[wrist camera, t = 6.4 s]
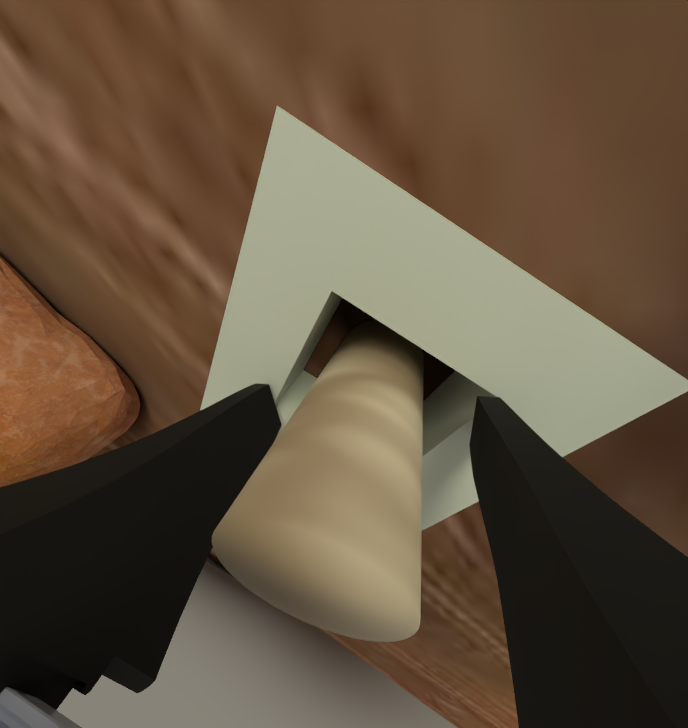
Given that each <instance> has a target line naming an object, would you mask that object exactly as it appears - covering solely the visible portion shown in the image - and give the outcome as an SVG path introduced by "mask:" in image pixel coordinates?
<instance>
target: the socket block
mask: <svg viewBox="0 0 688 728" xmlns="http://www.w3.org/2000/svg"><path fill="white" fill-rule="evenodd" d="M342 298H344V299H345V300H347V301H348V302H350V303H351V304H353V305H355V306H356V307H358V308H359V309H361V310H362V311H364V312H365V313H367V314H369V315H370V316H372V317H373V318H375V319H376V320H378V321H379V322H381V323H383V324H384V325H386V326H387V327H389V328H390V329H392V330H393V331H395V332H397V333H398V334H400V335H401V336H403V337H404V338H406V339H407V340H409V341H411V342H412V343H414V344H415V345H417V346H418V347H420V348H422V349H423V350H425V351H426V352H428V353H429V354H431V355H432V356H434V357H436V358H437V359H439V360H440V361H442V362H443V363H445V364H446V365H448V366H450V367H451V368H453V369H454V370H455V371H454V372H453V373H452V374H451V375H450V376H449V377H448V378H447V379H446V380H445V381H444V382H443V383H442V384H441V385H440V386H439V387H438V388H437V389H436V390H435V391H433V392H432V393H431V394H430V395H429V396H428V397H427V398H426V399H425V400H424V401H423V453H422V531H423V530H424V529H426V528H428V527H430V526H432V525H434V524H436V523H438V522H440V521H442V520H444V519H445V518H447V517H449V516H451V515H453V514H455V513H457V512H459V511H461V510H463V509H464V508H466V507H468V506H470V505H472V504H474V503H476V502H478V501H479V500H478V495H477V491H476V487H475V483H474V479H473V472H472V465H471V456H470V447H469V444H470V438H471V431H472V425H473V418H474V412H475V406H476V399H477V396H486V397H500V398H501V399H502V400H503V401H504V402H505V403H506V404H507V405H508V406H509V407H510V408H511V409H512V410H513V411H514V412H515V413H516V414H517V415H518V416H519V417H520V418H521V419H522V420H523V421H524V422H525V423H526V424H527V425H528V426H529V427H530V428H531V429H532V430H533V431H534V432H536V433H537V434H538V435H539V436H540V437H541V438H542V439H543V440H544V441H545V442H546V443H547V444H548V445H549V446H550V447H551V448H553V449H554V450H555V451H556V452H557V453H558V454H559V455H560V456H561V457H563V456H565V455H567V454H569V453H571V452H573V451H575V450H577V449H579V448H581V447H583V446H584V445H586V444H588V443H590V442H592V441H594V440H596V439H598V438H600V437H602V436H603V435H605V434H607V433H609V432H611V431H613V430H615V429H617V428H619V427H621V426H623V425H624V424H626V423H628V422H630V421H632V420H634V419H636V418H638V417H640V416H642V415H643V414H645V413H647V412H649V411H651V410H653V409H655V408H657V407H659V406H661V405H662V404H664V403H666V402H668V401H670V400H672V399H674V398H676V397H678V396H680V395H682V394H683V393H685V392H687V391H688V380H687V379H686V378H684V377H683V376H681V375H680V374H678V373H677V372H675V371H674V370H672V369H671V368H669V367H668V366H666V365H665V364H663V363H662V362H660V361H659V360H657V359H656V358H654V357H653V356H651V355H650V354H648V353H647V352H645V351H644V350H642V349H641V348H639V347H638V346H636V345H635V344H633V343H632V342H630V341H629V340H627V339H626V338H624V337H623V336H621V335H620V334H618V333H617V332H615V331H614V330H612V329H611V328H609V327H608V326H606V325H605V324H603V323H602V322H600V321H599V320H597V319H596V318H594V317H593V316H591V315H590V314H588V313H587V312H585V311H584V310H582V309H581V308H579V307H578V306H576V305H575V304H573V303H572V302H570V301H569V300H567V299H566V298H564V297H563V296H561V295H560V294H558V293H557V292H555V291H554V290H552V289H551V288H549V287H548V286H546V285H545V284H543V283H542V282H540V281H539V280H537V279H536V278H534V277H533V276H531V275H530V274H528V273H527V272H525V271H524V270H522V269H521V268H519V267H518V266H516V265H515V264H513V263H512V262H510V261H509V260H507V259H506V258H504V257H503V256H501V255H500V254H498V253H497V252H495V251H494V250H492V249H491V248H489V247H488V246H486V245H485V244H483V243H482V242H480V241H479V240H477V239H476V238H474V237H473V236H471V235H470V234H468V233H467V232H466V231H464V230H463V229H461V228H460V227H458V226H457V225H455V224H454V223H452V222H451V221H449V220H448V219H446V218H445V217H443V216H442V215H440V214H439V213H437V212H436V211H434V210H433V209H431V208H430V207H428V206H427V205H425V204H424V203H422V202H421V201H419V200H418V199H416V198H415V197H413V196H412V195H410V194H409V193H407V192H406V191H404V190H403V189H401V188H400V187H398V186H397V185H395V184H394V183H392V182H391V181H389V180H388V179H386V178H385V177H383V176H382V175H380V174H379V173H377V172H376V171H374V170H373V169H371V168H370V167H368V166H367V165H365V164H364V163H362V162H361V161H359V160H358V159H356V158H355V157H353V156H352V155H350V154H349V153H347V152H346V151H344V150H343V149H341V148H340V147H338V146H337V145H335V144H334V143H332V142H331V141H329V140H328V139H326V138H325V137H323V136H322V135H320V134H319V133H317V132H316V131H314V130H313V129H311V128H310V127H308V126H307V125H305V124H304V123H302V122H301V121H299V120H298V119H296V118H295V117H293V116H292V115H290V114H289V113H287V112H286V111H284V110H283V109H281V108H280V107H278V106H277V108H276V112H275V116H274V120H273V124H272V128H271V132H270V136H269V140H268V144H267V148H266V152H265V156H264V160H263V164H262V168H261V172H260V175H259V179H258V183H257V187H256V191H255V195H254V199H253V203H252V207H251V211H250V215H249V219H248V223H247V227H246V231H245V235H244V239H243V243H242V247H241V251H240V255H239V259H238V263H237V267H236V271H235V275H234V278H233V282H232V286H231V290H230V294H229V298H228V302H227V306H226V310H225V314H224V318H223V322H222V326H221V330H220V334H219V338H218V342H217V346H216V350H215V354H214V358H213V362H212V366H211V370H210V374H209V378H208V381H207V385H206V389H205V393H204V397H203V401H202V405H201V409H200V411H201V410H203V409H205V408H207V407H209V406H211V405H213V404H214V403H216V402H218V401H220V400H222V399H224V398H226V397H228V396H230V395H232V394H234V393H236V392H238V391H240V390H242V389H244V388H246V387H248V386H251V385H253V384H256V383H257V384H269V385H270V389H271V392H272V395H273V398H274V402H275V405H276V408H277V411H278V415H279V418H280V421H281V424H282V425H281V428H280V430H279V432H278V435H277V437H278V436H279V434H280V433H281V431H282V430H283V428H284V427H285V425H286V424H287V422H288V421H289V419H290V418H291V416H292V415H293V414H294V412H295V411H296V409H297V408H298V406H299V405H300V403H301V402H302V400H303V399H304V397H305V396H306V394H307V393H308V391H309V390H310V388H311V387H312V385H313V384H314V382H315V381H316V380H317V378H316V377H314V376H313V375H311V374H309V373H308V372H306V371H305V370H303V369H304V368H305V366H306V364H307V362H308V360H309V358H310V357H311V355H312V353H313V351H314V349H315V347H316V346H317V344H318V342H319V340H320V338H321V336H322V335H323V333H324V331H325V329H326V327H327V326H328V324H329V322H330V320H331V318H332V316H333V315H334V313H335V311H336V309H337V307H338V305H339V304H340V302H341V300H342ZM277 437H276V439H277ZM276 439H275V440H276ZM274 442H275V441H274Z"/></svg>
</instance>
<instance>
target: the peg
mask: <svg viewBox="0 0 688 728" xmlns="http://www.w3.org/2000/svg"><path fill="white" fill-rule="evenodd" d="M423 374H424V357H423V351H422V348H420V347H418V346H417V345H415V344H414V343H412V342H411V341H409V340H407V339H406V338H404V337H403V336H401V335H400V334H398V333H397V332H395V331H393V330H392V329H390V328H389V327H387V326H386V325H384V324H383V323H381V322H379V321H378V320H372V321H367V322H364V323H362V324H359V325H358V326H356V327H354V328H353V329H352V330H351V331H350V332H349V333H348V334H347V335H346V337H345V338H344V340H343V341H342V343H341V344H340V346H339V347H338V348H337V350H336V351H335V353H334V354H333V356H332V357H331V359H330V360H329V362H328V363H327V365H326V366H325V368H324V369H323V371H322V372H321V374H320V375H319V377H318V378H317V380H316V381H315V382H314V384H313V385H312V387H311V388H310V390H309V391H308V393H307V394H306V396H305V397H304V399H303V400H302V402H301V403H300V405H299V406H298V408H297V409H296V411H295V412H294V414H293V415H292V416H291V418H290V419H289V421H288V422H287V424H286V425H285V427H284V428H283V430H282V431H281V433H280V434H279V436H278V437H277V439H276V440H275V442H274V443H273V445H272V446H271V448H270V449H269V450H268V452H267V453H266V455H265V456H264V458H263V459H262V461H261V462H260V464H259V465H258V467H257V468H256V470H255V471H254V473H253V474H252V476H251V477H250V479H249V480H248V482H247V483H246V484H245V486H244V487H243V489H242V490H241V492H240V493H239V495H238V496H237V498H236V499H235V501H234V502H233V504H232V505H231V507H230V508H229V510H228V511H227V513H226V514H225V516H224V517H223V519H222V520H221V521H220V523H219V524H218V526H217V527H216V529H215V530H214V532H213V535H212V546H213V549H214V552H215V554H216V556H217V557H218V559H219V561H220V562H221V563H222V564H223V566H224V567H225V568H226V569H227V570H228V571H229V573H230V574H231V575H232V576H233V577H235V578H236V579H237V580H238V581H239V582H240V583H241V584H243V585H244V586H245V587H246V588H248V589H249V590H250V591H251V592H253V593H254V594H256V595H257V596H259V597H260V598H262V599H263V600H265V601H266V602H268V603H270V604H271V605H273V606H275V607H276V608H278V609H280V610H282V611H283V612H285V613H287V614H289V615H291V616H293V617H296V618H298V619H300V620H302V621H304V622H306V623H309V624H311V625H314V626H316V627H319V628H321V629H324V630H327V631H330V632H333V633H336V634H340V635H343V636H347V637H351V638H356V639H361V640H367V641H376V642H393V641H400V640H404V639H407V638H409V637H411V636H413V635H414V634H415V633H416V632H417V630H418V629H419V626H420V612H421V533H422V453H423Z"/></svg>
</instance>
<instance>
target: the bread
mask: <svg viewBox="0 0 688 728" xmlns="http://www.w3.org/2000/svg"><path fill="white" fill-rule="evenodd" d="M139 409H140V401H139V396H138V394H137V391H136V389H135V387H134V384H133V383H132V381H131V380H130V379H129V378H128V376H127V375H126V374H125V373H124V372H123V371H122V370H121V369H120V368H119V366H118V365H117V364H116V363H115V362H114V361H113V360H112V359H111V358H110V357H109V356H108V355H107V354H106V353H105V352H104V351H103V350H102V349H101V348H100V347H99V346H98V345H97V344H96V343H95V342H94V341H93V340H92V339H91V338H90V337H89V336H87V335H86V334H85V333H84V332H82V331H81V330H80V329H78V328H77V327H76V326H74V325H73V324H72V323H70V322H69V321H68V320H66V319H65V318H64V317H62V316H61V315H60V314H58V313H57V312H56V311H55V310H54V309H53V308H52V307H51V306H50V305H49V303H48V302H47V301H46V300H45V299H44V298H43V297H42V296H41V295H40V294H39V293H38V292H37V291H36V290H35V289H34V288H33V287H32V286H31V285H30V284H29V283H28V282H27V281H26V280H25V279H24V278H23V277H22V276H21V275H20V274H19V273H18V272H17V271H16V270H15V269H14V268H13V267H12V266H11V265H10V264H9V263H8V262H7V261H6V260H5V259H4V258H2V257H1V256H0V487H3V486H7V485H10V484H14V483H17V482H21V481H24V480H27V479H30V478H34V477H37V476H40V475H44V474H47V473H50V472H53V471H56V470H59V469H62V468H65V467H68V466H71V465H74V464H77V463H80V462H83V461H85V460H87V459H88V458H90V457H91V456H93V455H94V454H95V453H97V452H98V451H100V450H101V449H103V448H104V447H105V446H107V445H108V444H109V443H111V442H112V441H114V440H115V439H116V438H118V437H119V436H120V435H122V434H123V433H125V432H126V431H127V430H128V429H129V428H130V427H131V425H132V424H133V423H134V422H135V420H136V419H137V417H138V415H139Z"/></svg>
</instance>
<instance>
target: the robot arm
mask: <svg viewBox="0 0 688 728" xmlns="http://www.w3.org/2000/svg"><path fill="white" fill-rule="evenodd" d="M281 425H282V424H281V421H280V418H279V415H278V411H277V408H276V405H275V402H274V398H273V395H272V392H271V389H270V385H269V384H257V383H256V384H253V385H251V386H248V387H246V388H244V389H242V390H240V391H238V392H236V393H234V394H232V395H230V396H228V397H226V398H224V399H222V400H220V401H218V402H216V403H214V404H213V405H211V406H209V407H207V408H205V409H203V410H201V411H199V412H197V413H195V414H193V415H191V416H189V417H187V418H185V419H183V420H181V421H179V422H177V423H175V424H173V425H171V426H169V427H167V428H165V429H163V430H160V431H158V432H156V433H154V434H151V435H149V436H147V437H145V438H142V439H140V440H138V441H135V442H133V443H130V444H128V445H126V446H123V447H121V448H118V449H115V450H113V451H110V452H107V453H104V454H102V455H99V456H96V457H94V458H91V459H88V460H85V461H83V462H80V463H77V464H74V465H71V466H68V467H65V468H62V469H59V470H56V471H53V472H50V473H47V474H44V475H40V476H37V477H34V478H30V479H27V480H24V481H21V482H17V483H14V484H10V485H7V486H3V487H0V728H81V727H80V726H78V725H77V724H75V723H74V722H73V721H71V720H70V719H68V718H67V717H65V716H64V715H62V714H61V713H59V712H58V711H56V709H57V708H58V707H59V705H60V704H61V703H62V701H63V700H64V699H65V697H66V696H67V695H68V693H69V692H70V691H71V689H72V688H74V689H76V690H77V691H79V692H81V693H82V694H84V695H86V694H87V693H89V692H90V691H91V690H92V688H93V687H94V685H95V684H96V682H97V681H98V680H99V678H100V677H101V675H104V676H106V677H108V678H109V679H112V680H113V681H115V682H117V683H119V684H121V685H123V686H125V687H126V688H128V689H130V690H132V691H134V692H136V693H139V692H141V691H143V690H144V689H146V688H147V687H149V686H150V685H151V684H152V683H153V682H154V681H155V680H156V677H157V674H158V672H159V669H160V666H161V664H162V661H163V659H164V656H165V654H166V651H167V649H168V646H169V644H170V642H171V639H172V637H173V634H174V631H175V629H176V627H177V624H178V622H179V619H180V617H181V614H182V612H183V610H184V608H185V606H186V603H187V601H188V599H189V596H190V594H191V592H192V590H193V588H194V585H195V583H196V581H197V578H198V576H199V574H200V572H201V570H202V568H203V566H204V564H205V562H206V560H207V558H208V556H209V554H210V552H211V549H212V547H213V546H212V535H213V532H214V530H215V529H216V527H217V526H218V524H219V523H220V521H221V520H222V519H223V517H224V516H225V514H226V513H227V511H228V510H229V508H230V507H231V505H232V504H233V502H234V501H235V499H236V498H237V496H238V495H239V493H240V492H241V490H242V489H243V487H244V486H245V484H246V483H247V482H248V480H249V479H250V477H251V476H252V474H253V473H254V471H255V470H256V468H257V467H258V465H259V464H260V462H261V461H262V459H263V458H264V456H265V455H266V453H267V452H268V450H269V449H270V448H271V446H272V445H273V443H274V441H275V439H276V437H277V435H278V432H279V430H280V428H281ZM469 447H470V456H471V465H472V472H473V479H474V483H475V487H476V491H477V495H478V500H479V504H480V508H481V512H482V516H483V520H484V524H485V528H486V532H487V536H488V540H489V544H490V548H491V552H492V556H493V561H494V565H495V570H496V575H497V580H498V586H499V592H500V599H501V605H502V611H503V618H504V624H505V631H506V638H507V644H508V651H509V658H510V665H511V672H512V679H513V686H514V693H515V701H516V708H517V716H518V723H519V728H688V557H687V556H685V555H684V554H683V553H681V552H680V551H678V550H677V549H676V548H674V547H673V546H672V545H670V544H669V543H668V542H666V541H665V540H664V539H662V538H661V537H660V536H658V535H657V534H656V533H654V532H653V531H652V530H651V529H649V528H648V527H647V526H645V525H644V524H643V523H641V522H640V521H639V520H637V519H636V518H635V517H634V516H632V515H631V514H630V513H628V512H627V511H626V510H624V509H623V508H622V507H621V506H619V505H618V504H617V503H616V502H614V501H613V500H612V499H611V498H609V497H608V496H607V495H606V494H604V493H603V492H602V491H601V490H600V489H598V488H597V487H596V486H595V485H594V484H593V483H591V482H590V481H589V480H588V479H587V478H585V477H584V476H583V475H582V474H581V473H580V472H578V471H577V470H576V469H575V468H574V467H572V466H571V465H570V464H569V463H568V462H567V461H566V460H565V459H564V458H562V457H561V456H560V455H559V454H558V453H557V452H556V451H555V450H554V449H553V448H551V447H550V446H549V445H548V444H547V443H546V442H545V441H544V440H543V439H542V438H541V437H540V436H539V435H538V434H537V433H536V432H534V431H533V430H532V429H531V428H530V427H529V426H528V425H527V424H526V423H525V422H524V421H523V420H522V419H521V418H520V417H519V416H518V415H517V414H516V413H515V412H514V411H513V410H512V409H511V408H510V407H509V406H508V405H507V404H506V403H505V402H504V401H503V400H502V399H501V398H500V397H486V396H477V399H476V406H475V412H474V418H473V425H472V431H471V438H470V444H469Z"/></svg>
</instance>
